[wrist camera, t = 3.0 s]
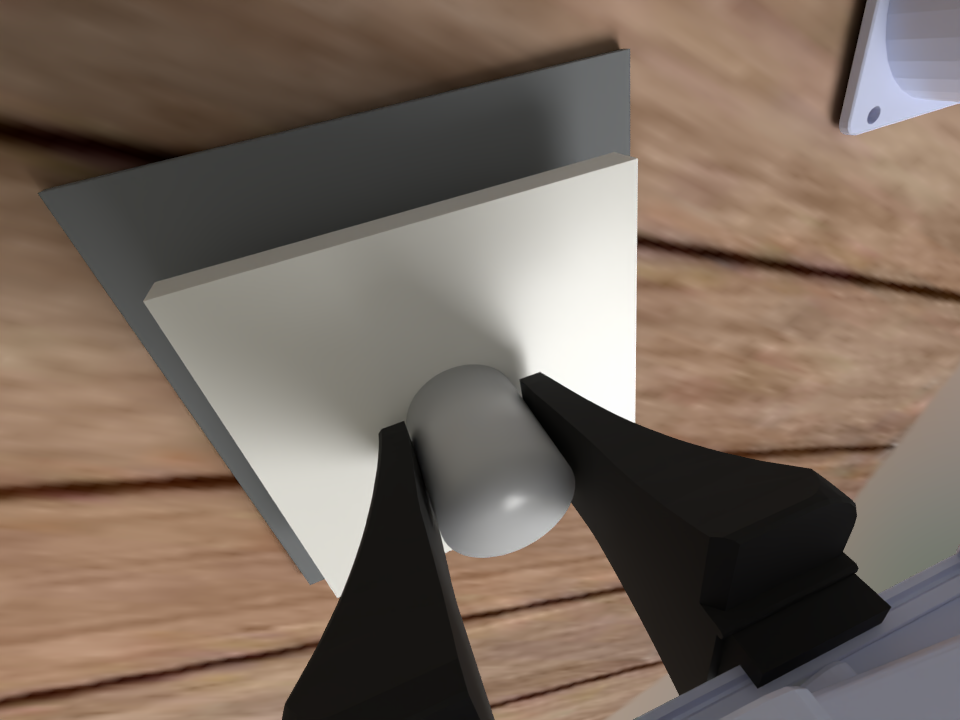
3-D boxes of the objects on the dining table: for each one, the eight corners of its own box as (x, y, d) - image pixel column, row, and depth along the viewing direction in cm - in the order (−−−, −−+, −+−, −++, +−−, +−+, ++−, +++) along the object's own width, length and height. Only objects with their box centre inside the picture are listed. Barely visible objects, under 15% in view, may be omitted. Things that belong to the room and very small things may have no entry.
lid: (614, 152, 12) (755, 191, 8) (619, 455, 18) (701, 553, 15) (154, 282, 10) (81, 404, 7) (334, 571, 16) (348, 715, 13)
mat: (621, 49, 13) (630, 48, 12) (624, 447, 21) (629, 453, 21) (45, 189, 10) (37, 193, 10) (309, 575, 19) (310, 584, 18)
